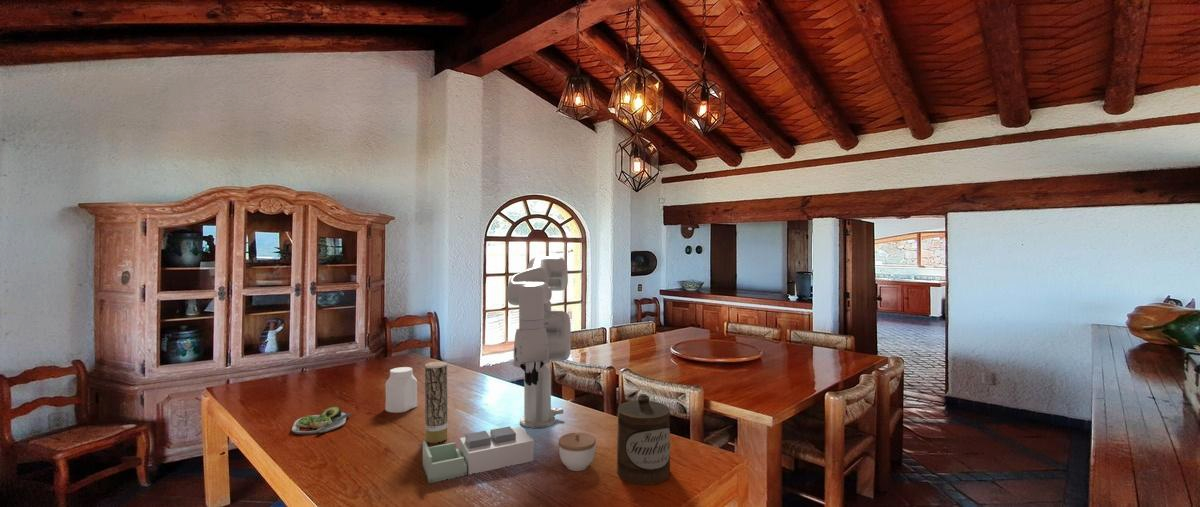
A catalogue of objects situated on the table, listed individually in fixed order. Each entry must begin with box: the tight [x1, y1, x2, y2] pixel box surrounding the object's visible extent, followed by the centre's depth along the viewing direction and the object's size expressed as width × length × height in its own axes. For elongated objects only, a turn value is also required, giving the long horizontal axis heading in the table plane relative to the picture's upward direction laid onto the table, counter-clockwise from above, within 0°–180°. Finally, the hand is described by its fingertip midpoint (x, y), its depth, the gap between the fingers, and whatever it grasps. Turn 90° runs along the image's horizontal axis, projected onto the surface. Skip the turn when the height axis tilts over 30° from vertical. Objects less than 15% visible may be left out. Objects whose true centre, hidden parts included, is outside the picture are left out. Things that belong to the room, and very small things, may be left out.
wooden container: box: [616, 393, 671, 486], centre depth 135 cm, size 15×15×22 cm
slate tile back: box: [489, 425, 516, 444], centre depth 144 cm, size 6×6×2 cm
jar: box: [384, 366, 418, 414], centre depth 189 cm, size 12×10×15 cm
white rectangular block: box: [459, 426, 535, 475], centre depth 143 cm, size 19×12×6 cm, turn 118°
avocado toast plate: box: [291, 406, 352, 436], centre depth 169 cm, size 19×18×5 cm
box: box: [422, 440, 468, 484], centre depth 136 cm, size 10×12×7 cm
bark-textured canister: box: [424, 361, 448, 444], centre depth 157 cm, size 7×7×25 cm
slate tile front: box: [464, 430, 491, 449], centre depth 141 cm, size 6×6×2 cm
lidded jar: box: [558, 432, 597, 472], centre depth 139 cm, size 11×11×9 cm
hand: (531, 383), depth 148 cm, fingers closed
